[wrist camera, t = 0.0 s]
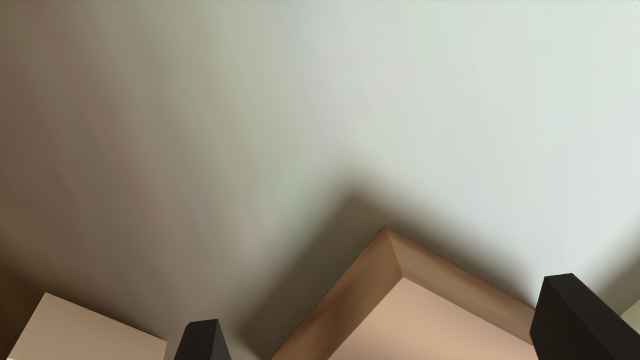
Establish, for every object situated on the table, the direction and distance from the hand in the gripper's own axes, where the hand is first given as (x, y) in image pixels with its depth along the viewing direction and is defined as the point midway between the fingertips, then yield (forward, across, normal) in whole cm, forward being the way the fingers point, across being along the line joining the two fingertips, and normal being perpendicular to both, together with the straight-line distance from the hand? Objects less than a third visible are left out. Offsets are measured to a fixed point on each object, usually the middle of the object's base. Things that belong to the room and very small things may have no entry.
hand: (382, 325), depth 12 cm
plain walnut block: (+9, -2, +13) cm, 16 cm away
